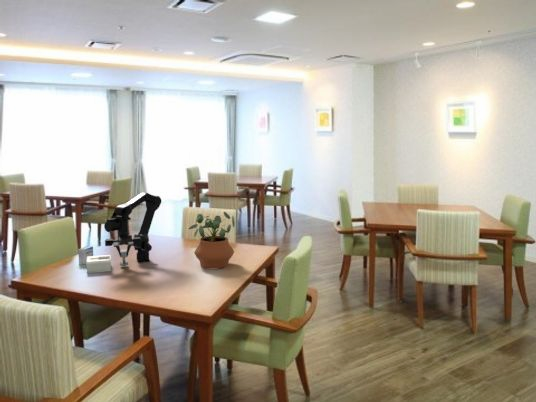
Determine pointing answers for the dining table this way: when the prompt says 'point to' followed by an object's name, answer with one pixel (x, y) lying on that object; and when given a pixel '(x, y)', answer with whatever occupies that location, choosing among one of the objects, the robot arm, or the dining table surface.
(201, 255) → the potted plant
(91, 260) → the keyhole plate
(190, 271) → the dining table surface
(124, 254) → the peg
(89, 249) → the medicine box
